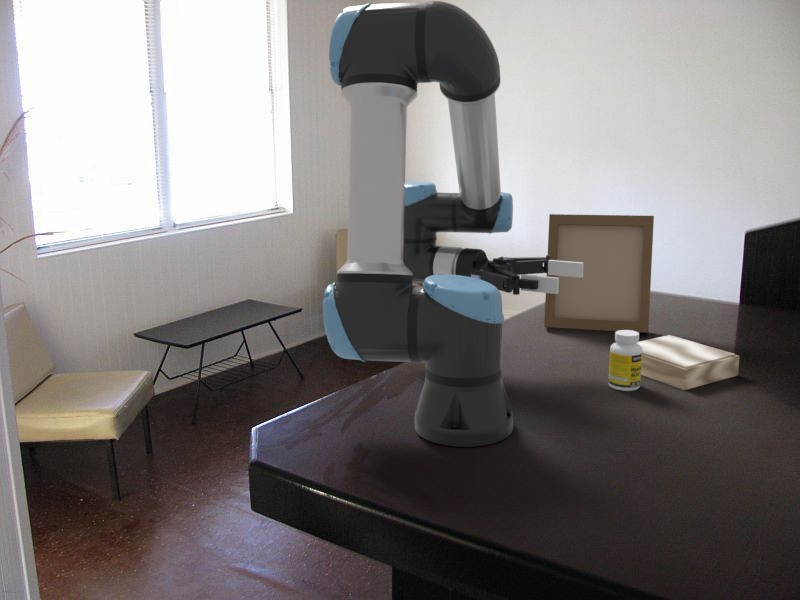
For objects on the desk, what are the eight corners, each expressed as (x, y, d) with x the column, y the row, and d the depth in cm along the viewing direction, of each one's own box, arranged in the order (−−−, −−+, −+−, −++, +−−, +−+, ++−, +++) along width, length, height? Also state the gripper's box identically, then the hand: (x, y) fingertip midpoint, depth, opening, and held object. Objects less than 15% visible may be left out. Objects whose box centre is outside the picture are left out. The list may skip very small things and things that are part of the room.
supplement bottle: (633, 394, 136) (636, 338, 133) (603, 388, 139) (605, 334, 137) (645, 385, 140) (647, 331, 138) (615, 379, 143) (617, 326, 141)
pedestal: (684, 390, 137) (685, 368, 136) (616, 365, 150) (617, 345, 149) (737, 375, 144) (739, 354, 143) (668, 353, 157) (669, 333, 156)
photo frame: (648, 337, 168) (654, 219, 162) (544, 331, 174) (546, 217, 169) (648, 320, 182) (653, 210, 176) (551, 315, 188) (554, 209, 182)
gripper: (488, 273, 162) (591, 283, 152) (431, 301, 142) (545, 315, 131) (488, 237, 161) (592, 244, 150) (431, 260, 140) (546, 270, 129)
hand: (571, 277), depth 141 cm, fingers open, 13 cm apart
